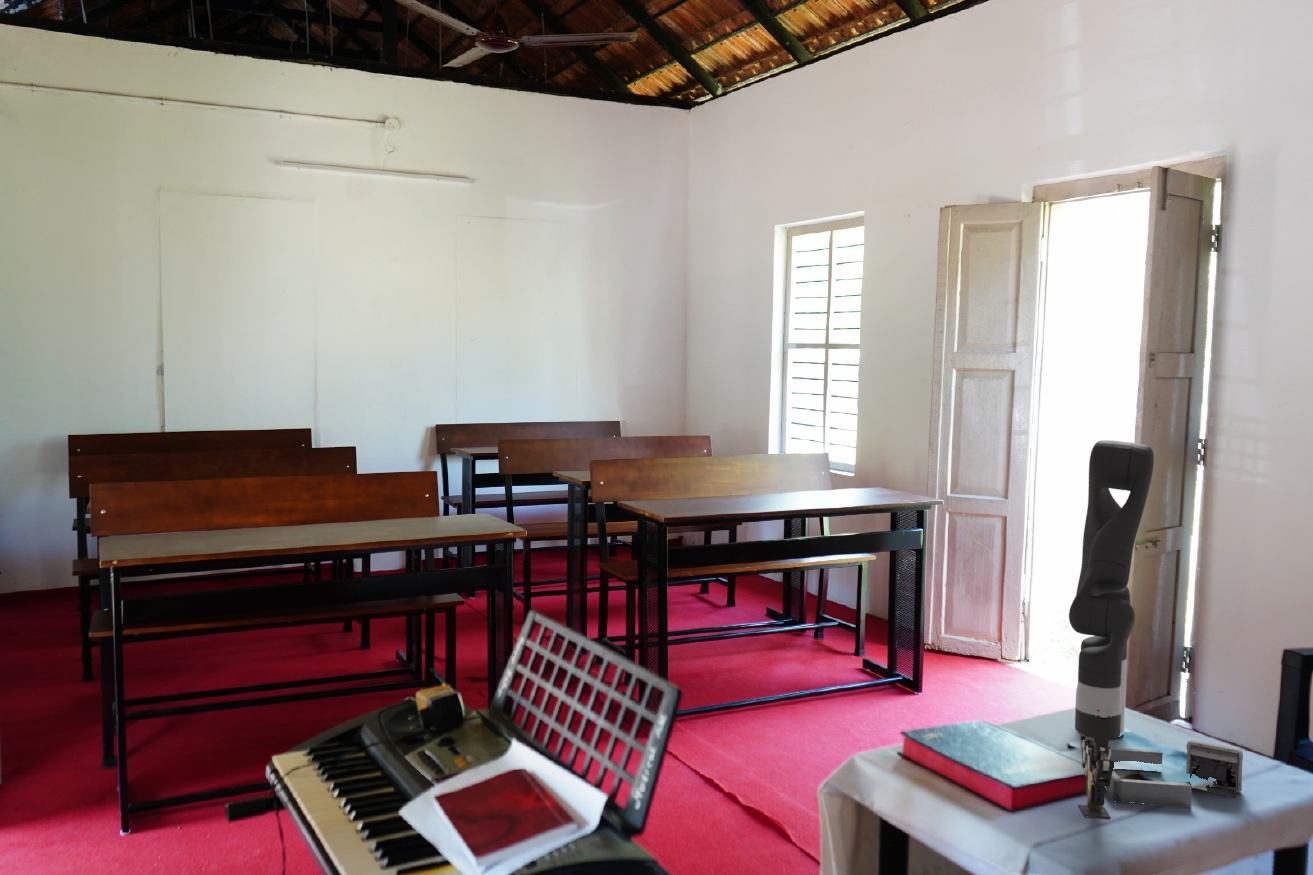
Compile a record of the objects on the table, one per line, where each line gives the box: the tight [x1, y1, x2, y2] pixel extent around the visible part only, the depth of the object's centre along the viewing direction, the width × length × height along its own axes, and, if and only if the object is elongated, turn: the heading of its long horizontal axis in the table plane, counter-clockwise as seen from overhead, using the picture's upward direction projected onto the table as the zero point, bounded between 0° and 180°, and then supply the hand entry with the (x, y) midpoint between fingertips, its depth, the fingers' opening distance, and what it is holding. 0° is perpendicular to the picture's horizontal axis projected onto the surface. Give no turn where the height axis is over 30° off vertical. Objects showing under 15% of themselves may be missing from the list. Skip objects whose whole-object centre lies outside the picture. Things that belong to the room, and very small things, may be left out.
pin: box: [1086, 770, 1104, 811], centre depth 181 cm, size 3×3×7 cm
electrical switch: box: [1185, 739, 1244, 798], centre depth 190 cm, size 9×5×9 cm, turn 57°
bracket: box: [1105, 746, 1193, 808], centre depth 193 cm, size 17×13×4 cm
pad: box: [1078, 804, 1111, 820], centre depth 181 cm, size 4×4×1 cm
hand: (1094, 800), depth 181 cm, fingers closed on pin, 2 cm apart
